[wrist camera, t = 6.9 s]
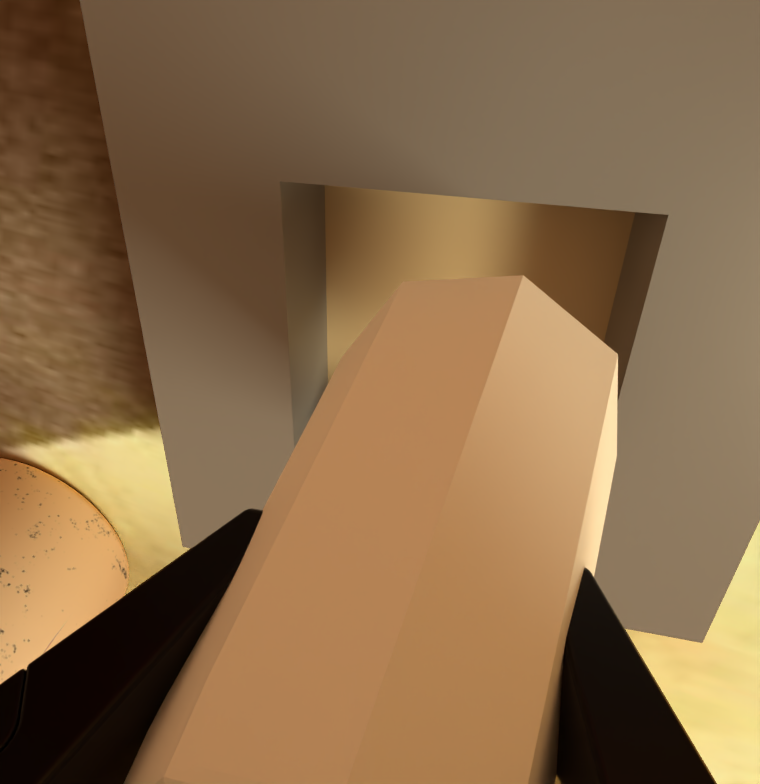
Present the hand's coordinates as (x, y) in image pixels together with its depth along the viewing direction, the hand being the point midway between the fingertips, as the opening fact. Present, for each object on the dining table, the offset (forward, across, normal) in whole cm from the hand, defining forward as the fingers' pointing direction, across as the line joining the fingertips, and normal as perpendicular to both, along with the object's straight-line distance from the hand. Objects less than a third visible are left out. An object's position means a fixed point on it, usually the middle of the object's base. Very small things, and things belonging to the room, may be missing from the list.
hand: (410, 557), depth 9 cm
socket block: (+10, 0, 0) cm, 10 cm away
